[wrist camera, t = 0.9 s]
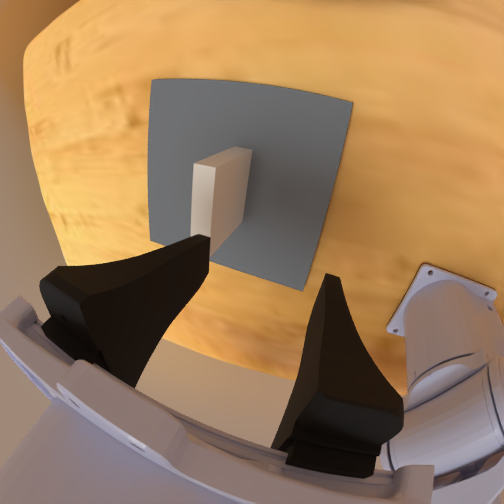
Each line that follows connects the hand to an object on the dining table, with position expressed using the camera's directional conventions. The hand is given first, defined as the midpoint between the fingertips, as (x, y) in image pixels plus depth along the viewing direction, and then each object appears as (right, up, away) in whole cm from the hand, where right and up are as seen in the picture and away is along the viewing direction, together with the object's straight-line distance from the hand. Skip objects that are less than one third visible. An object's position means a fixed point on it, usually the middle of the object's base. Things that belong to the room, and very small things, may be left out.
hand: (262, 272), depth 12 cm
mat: (-2, +7, +10) cm, 12 cm away
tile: (-2, +6, +9) cm, 11 cm away
